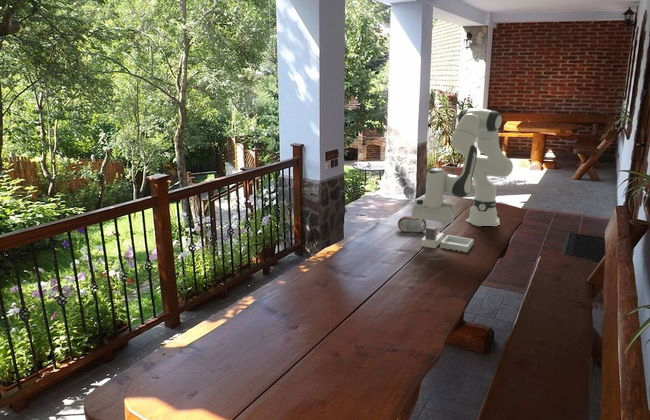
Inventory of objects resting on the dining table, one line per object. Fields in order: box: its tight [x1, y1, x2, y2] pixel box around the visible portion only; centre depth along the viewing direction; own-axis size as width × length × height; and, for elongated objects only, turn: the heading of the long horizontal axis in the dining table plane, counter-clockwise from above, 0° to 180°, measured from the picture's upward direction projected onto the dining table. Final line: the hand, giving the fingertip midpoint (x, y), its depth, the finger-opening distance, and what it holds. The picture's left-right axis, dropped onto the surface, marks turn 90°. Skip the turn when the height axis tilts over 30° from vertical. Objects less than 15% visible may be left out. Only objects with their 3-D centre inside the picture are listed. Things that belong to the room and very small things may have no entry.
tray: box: [439, 234, 474, 253], centre depth 242 cm, size 13×13×3 cm
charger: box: [424, 225, 438, 240], centre depth 243 cm, size 4×4×7 cm
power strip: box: [420, 231, 445, 249], centre depth 249 cm, size 21×7×4 cm, turn 151°
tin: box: [397, 215, 427, 234], centre depth 263 cm, size 15×3×8 cm, turn 84°
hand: (431, 228), depth 242 cm, fingers open, 8 cm apart
